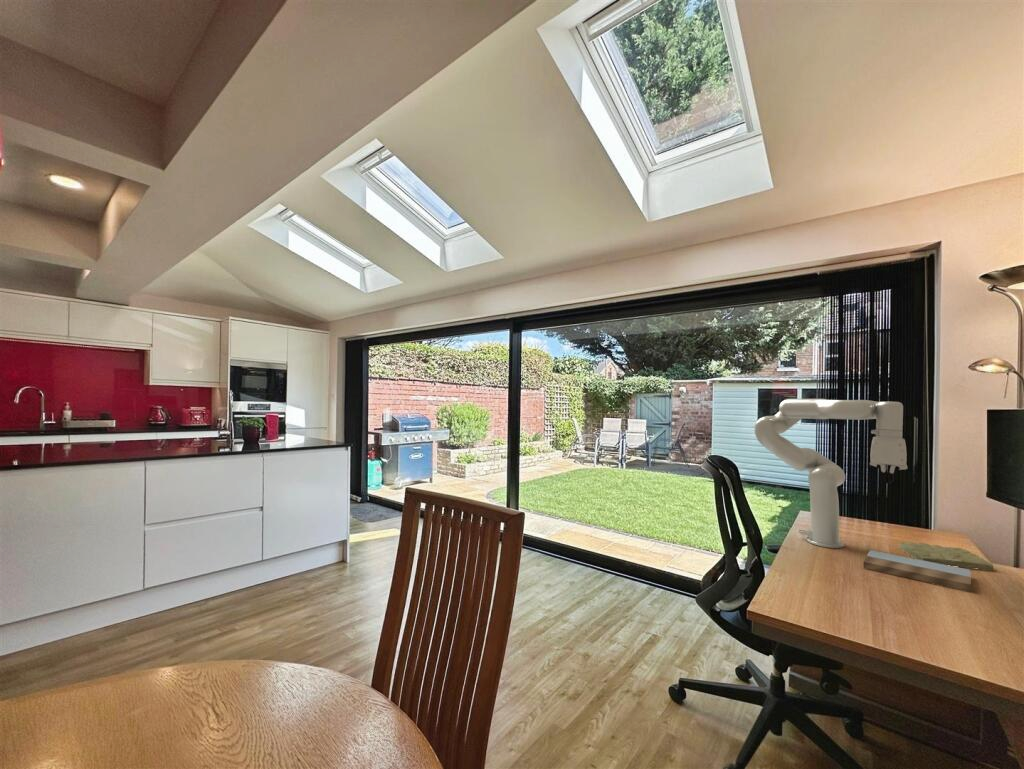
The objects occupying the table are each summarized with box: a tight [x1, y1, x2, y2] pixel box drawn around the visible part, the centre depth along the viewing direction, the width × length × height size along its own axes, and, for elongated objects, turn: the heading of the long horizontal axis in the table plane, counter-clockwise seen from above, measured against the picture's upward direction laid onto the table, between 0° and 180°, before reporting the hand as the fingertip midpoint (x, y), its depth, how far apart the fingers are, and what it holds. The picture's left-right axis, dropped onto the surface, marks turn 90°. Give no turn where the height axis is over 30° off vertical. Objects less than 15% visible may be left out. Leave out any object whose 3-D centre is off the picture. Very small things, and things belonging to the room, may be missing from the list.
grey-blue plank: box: [866, 549, 971, 577], centre depth 152 cm, size 26×8×2 cm, turn 45°
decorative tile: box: [897, 541, 994, 572], centre depth 163 cm, size 19×20×4 cm
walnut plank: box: [863, 555, 972, 593], centre depth 146 cm, size 26×8×2 cm, turn 45°
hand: (887, 483), depth 164 cm, fingers closed
